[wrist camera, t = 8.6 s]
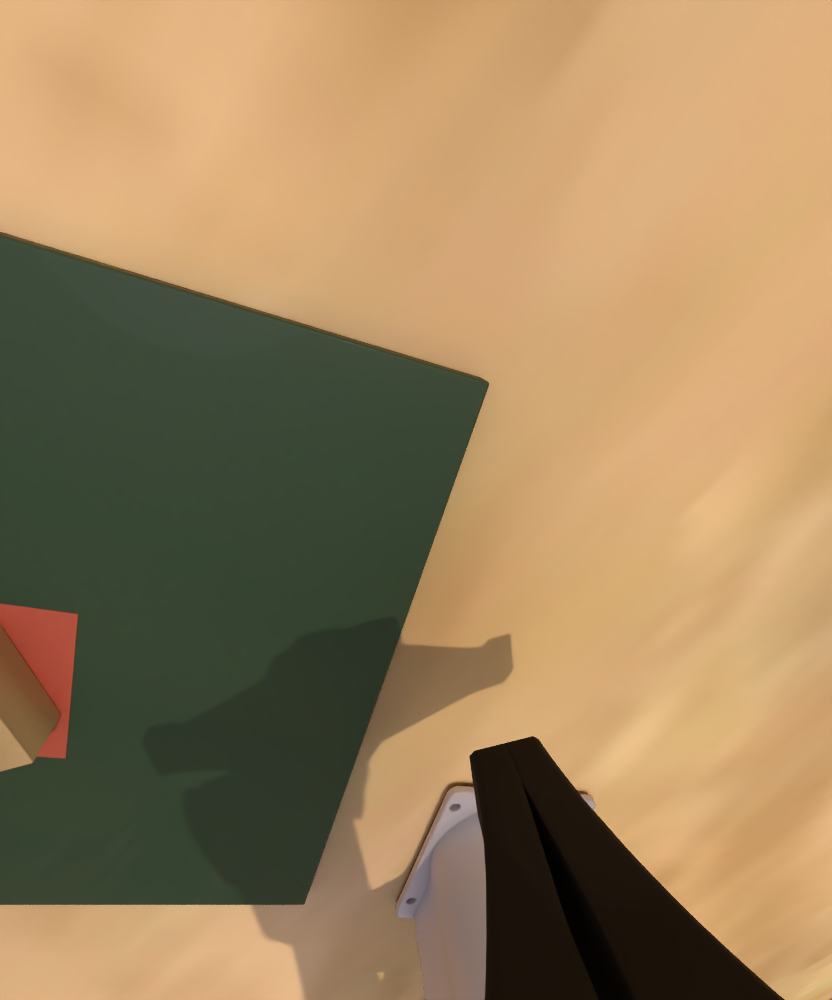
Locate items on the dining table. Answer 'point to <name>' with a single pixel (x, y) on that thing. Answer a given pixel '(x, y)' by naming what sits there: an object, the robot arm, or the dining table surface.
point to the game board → (204, 573)
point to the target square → (46, 660)
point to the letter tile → (21, 709)
